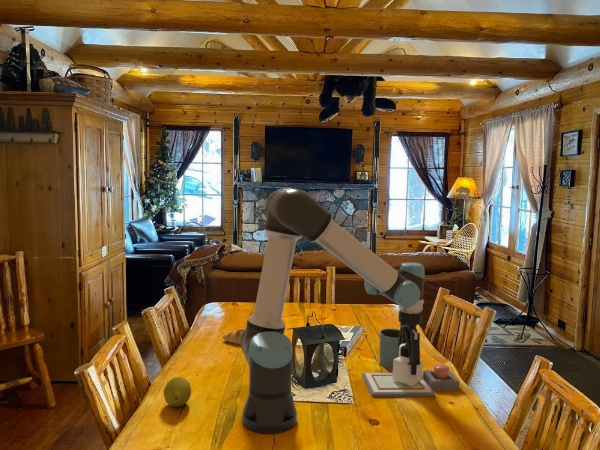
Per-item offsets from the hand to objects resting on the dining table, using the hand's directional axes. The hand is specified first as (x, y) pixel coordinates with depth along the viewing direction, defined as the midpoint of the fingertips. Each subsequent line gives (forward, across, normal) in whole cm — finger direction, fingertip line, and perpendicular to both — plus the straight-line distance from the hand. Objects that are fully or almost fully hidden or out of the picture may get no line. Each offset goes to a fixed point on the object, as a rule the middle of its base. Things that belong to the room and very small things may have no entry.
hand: (407, 376), depth 160 cm
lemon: (+3, -13, +72) cm, 74 cm away
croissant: (+3, +42, +54) cm, 68 cm away
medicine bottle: (+1, 0, 0) cm, 1 cm away
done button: (+1, +1, -12) cm, 12 cm away
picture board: (+3, 0, +3) cm, 4 cm away
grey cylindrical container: (+3, +18, 0) cm, 18 cm away
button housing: (+3, +1, -12) cm, 12 cm away
